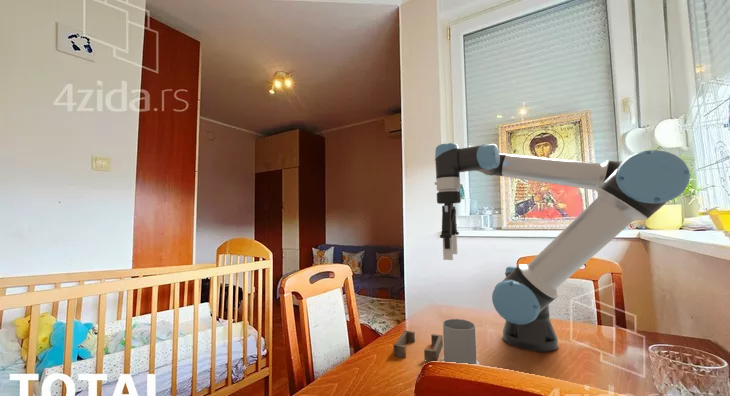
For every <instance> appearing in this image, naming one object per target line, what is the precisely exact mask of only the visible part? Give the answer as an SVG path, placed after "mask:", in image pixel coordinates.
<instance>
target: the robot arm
mask: <svg viewBox="0 0 730 396" xmlns="http://www.w3.org/2000/svg"><path fill="white" fill-rule="evenodd" d="M434 152H435V155H434V162H435V178H436V179H435V180H436V181H435V182H434V185H435V186H436V191H438V192H437V193H436V202H437V204H438V205H442V206H441V209H442V210H441V213H442V214H441V233H440V235H439V238H440V239H442V256H443V257H442V258H443V259H442V260H443V261H445V260H446V261H453V260H454V256H453V255H458V240H457V239H458V235H459V234H460V233H459V231H458V229H457V216H456V215H457V209H456V206H454V204H460V203H461V202H462V198H461V192H460V190H461V178H460V177H461V176H460V173H465V172H479V173H482V174H484V175H486V176H493V177H494V176H496V177H505V178H511V179H512V178H513V179H519V180H523V181H524V180H525V181H530V182H531V181H532V182H533V181H534V182H539V183H545V184H553V185H558V186H559V185H560V186H565V187H573V188H580V189H586V190H592V191H593V190H594V191H596V193H597V197H596V199H594V200H593V201H592V202H591V203H590V204H589V205H588V206H587V207H586V208H585V209H584V210H583V211H582V212H581V213H580V214H578V216H577V217H576V218H574V220H573V221H572V222H571V223H569V225H568V226H566V227H565V228H564V229H562V231H561V232H560V233H559V234H558V235H557V236H555V238H554V239H553V240H552V241H551V242H550V243H549V244H548V245H547V246H545V248H543V250H541V251H540V252H539V253H538V254H537V255H536V256H535V258H533V259H532V260H531V261H530V262H529V263H520V264H518V265H516V266H507V267H506V268H505V272H504V274H505V278H504V279H503V280H502V281H500V282H498V283H497V284H496V285H495V287H494V289H493V291H492V295H491V299H492V300H491V302H492V305H493V308H494V309H495V311H496V313H497V314H499V316H500V317H501V318H503V319H504V320H505V322H504V326H503V329H502V339H503V341H505V342H506V343H507V344H509V346H513V347H515V348H517V349H518V348H519V349H520V350H521V349H522V350H526V351H532V352H543V353H544V352H546V353H547V352H552V351H554V350H557V349H558V347H559V343H558V336H557V333H556V331H555V329H554V326H553V324H552V321H551V319H550V317H551V316H550V304H551V303H552V302H553V301H555V299H556V298H557V297H558V288H559V287H560V286H561V285H562V284H563V283H565V282H566V281H567V280H568V279H569V278H570V277H571V276H573V275H574V274H575V273H576V272H578V270H579V269H581V267H583V266H584V265H585V264H587V262H588V261H590V260H591V259H592V258H593V257H594V256H595V255H596V254H598V253H599V252H600V251H601V250H602V249H603V248H604V247H606V246H607V244H609V243H610V242H611V241H612V240H613V239H614V238H616V237H617V236H619V234H620V233H621V232H623V231H624V230H625V229H626V228H627V227H628V226H629V225H631V223H633V222H635V221H643V220H645V221H646V220H648V219H649V218H650V217H652V215H654V214H655V213H657V211H658V210H660V209H661V208H662V207H663V206H665V204H667V203H668V202H670V201H672V200H675V199H676V198H678V197H680V196H681V195H682V194H683V193H684V192H685V190H687V189H686V188H687V187H688V185H689V183H690V179H691V175H690V174H691V173H690V169H689V167H688V165H687V164H686V162H685V161H684V160H683V159H681V157H679V156H678V155H676V154H674V153H671V152H670V151H669V152H668V151H665V150H657V149H651V150H650V149H649V150H643V151H639V152H636V153H634V154H631V155H629V156H628V157H626V158H625V159H623V161H618V160H617V161H616V160H606V161H605V162H603V163H598V162H588V161H578V160H568V159H559V158H548V157H540V156H538V157H537V156H531V155H530V156H529V155H519V154H511V153H509V154H508V153H500V149H499V147H498V145H497V144H495V143H490V144H481V145H475V146H469V147H463V148H460V147H459V144H457V143H454V142H450V143H446V142H445V143H440V144H438V145H437V146H436V147H435V151H434Z"/></svg>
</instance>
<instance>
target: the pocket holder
mask: <svg viewBox="0 0 730 396" xmlns="http://www.w3.org/2000/svg"><path fill="white" fill-rule="evenodd" d="M430 336H431V337H430V338H431V339H430V340H431V346H433V349H431V348H430V349H429V348H424V349H423V354H424V355H423V356H424V361H425V360H426V361H428V363H431V362H430V361H437V362H438V360H439V357H440V355H441V352H442V349H443V347H444V338H443V334H435V333H432V334H431V335H430ZM415 342H416V336H415V331H413V330H412V331H411V330H404V331H403V332H402V334H401V335H400V336H399V338H398V339H397V341H396V342H395V344H394V345H393V356H394V357H396V358H402V359H403V358H404V359H405V358H406V357H407V345H406V344H407V343H415ZM439 354H440V355H439ZM426 361H425V362H426Z"/></svg>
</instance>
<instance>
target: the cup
mask: <svg viewBox="0 0 730 396" xmlns="http://www.w3.org/2000/svg"><path fill="white" fill-rule="evenodd" d="M442 338H443V356H444V361H445V362H456V363H468V364H477V361H478V360H477V341H476V338H477V337H476V325H475V323H474V322H472V321H470V320H465V319H462V318H461V319H460V318H450V319H446V320H444V321H443V322H442Z"/></svg>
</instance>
